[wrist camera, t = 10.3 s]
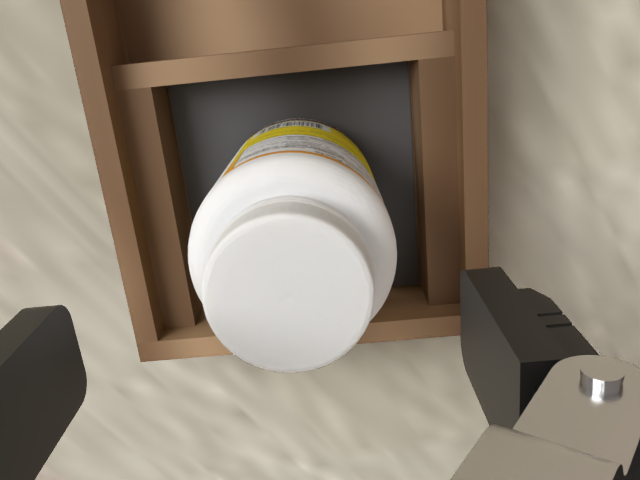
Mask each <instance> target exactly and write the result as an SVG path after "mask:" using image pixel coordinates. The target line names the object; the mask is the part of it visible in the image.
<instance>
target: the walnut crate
mask: <svg viewBox="0 0 640 480" xmlns="http://www.w3.org/2000/svg"><path fill="white" fill-rule="evenodd" d="M60 4H61V9H62V13H63V18H64V22H65V26H66V31H67V35H68V40H69V44H70V49H71V53H72V58H73V62H74V67H75V71H76V75H77V80H78V84H79V89H80V93H81V98H82V102H83V107H84V111H85V116H86V120H87V124H88V129H89V133H90V138H91V142H92V147H93V151H94V156H95V160H96V165H97V169H98V173H99V178H100V182H101V187H102V191H103V196H104V200H105V205H106V209H107V214H108V218H109V222H110V227H111V231H112V236H113V240H114V245H115V249H116V254H117V258H118V263H119V267H120V271H121V276H122V280H123V285H124V289H125V294H126V298H127V303H128V307H129V312H130V316H131V320H132V325H133V329H134V334H135V338H136V343H137V347H138V352H139V356H140V361H141V362H146V361H158V360H169V359H181V358H193V357H205V356H217V355H229V354H233V353H232V352H230V351H229V350H228V349H227V348H226V347H225V346H224V345H223V344H222V343H221V342H220V340H219V339H218V338H217V337H216V335H215V334H214V332H213V331H212V329H211V327H210V325H209V323H208V321H207V319H206V316H205V312H204V308H203V304H202V302H201V301H200V299H199V297H198V295H197V293H196V291H195V288H194V285H193V282H192V279H191V275H190V271H189V265H188V242H189V236H190V231H191V226H192V223H193V220H194V218H195V215H196V213H197V211H198V209H199V207H200V205H201V204H202V202H203V200H204V199H205V197H206V196H207V194H208V193H209V191H210V190H211V189H212V187H213V186H214V185H215V183H216V182H217V180H218V179H219V177H220V176H221V175H222V173H223V172H224V170H225V169H226V168H227V166H228V165H229V163H230V162H231V160H232V159H233V158H234V156H235V155H236V153H237V152H238V151H239V149H240V148H241V147H242V145H243V144H244V143H245V142H246V141H247V140H248V139H249V138H250V137H251V136H252V135H254V134H255V133H256V132H258V131H259V130H261V129H262V128H264V127H266V126H268V125H271V124H273V123H275V122H279V121H282V120H287V119H298V118H301V119H311V120H316V121H320V122H323V123H326V124H329V125H331V126H333V127H335V128H337V129H339V130H340V131H342V132H343V133H344V134H346V135H347V136H348V137H349V138H350V139H351V140H352V141H353V142H354V143H355V144H356V145H357V146H358V148H359V149H360V150H361V151H362V153H363V155H364V156H365V158H366V160H367V162H368V164H369V166H370V169H371V172H372V174H373V177H374V179H375V182H376V184H377V187H378V190H379V192H380V194H381V197H382V199H383V202H384V205H385V207H386V209H387V212H388V214H389V217H390V219H391V223H392V226H393V229H394V234H395V238H396V247H397V264H396V271H395V276H394V280H393V283H392V286H391V289H390V292H389V294H388V296H387V299H386V300H385V302H384V304H383V306H382V307H381V309H380V310H379V311H378V313H377V314H376V315H375V316H374V318H373V319H372V320H371V321H370V322H369V324H368V326H367V328H366V330H365V332H364V334H363V335H362V336H361V338H360V339H359V341H358V342H357V343H356V344H360V343H372V342H384V341H396V340H408V339H419V338H431V337H443V336H455V335H461V317H460V275H461V272H462V270H470V269H481V268H489V259H488V116H487V0H60Z"/></svg>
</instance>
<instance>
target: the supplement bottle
mask: <svg viewBox="0 0 640 480" xmlns="http://www.w3.org/2000/svg"><path fill="white" fill-rule="evenodd" d="M396 264H397V247H396V238H395V234H394V229H393V226H392V223H391V219H390V217H389V214H388V212H387V209H386V207H385V205H384V202H383V199H382V197H381V194H380V192H379V190H378V187H377V184H376V182H375V179H374V177H373V174H372V172H371V169H370V166H369V164H368V162H367V160H366V158H365V156H364V155H363V153H362V151H361V150H360V149H359V148H358V146H357V145H356V144H355V143H354V142H353V141H352V140H351V139H350V138H349V137H348V136H347V135H346V134H344V133H343V132H342V131H340V130H339V129H337V128H335V127H333V126H331V125H329V124H326V123H323V122H320V121H316V120H311V119H301V118H298V119H287V120H282V121H279V122H275V123H273V124H271V125H268V126H266V127H264V128H262V129H261V130H259V131H258V132H256V133H255V134H254V135H252V136H251V137H250V138H249V139H248V140H247V141H246V142H245V143H244V144H243V145H242V147H241V148H240V149H239V151H238V152H237V153H236V155H235V156H234V158H233V159H232V160H231V162H230V163H229V165H228V166H227V168H226V169H225V170H224V172H223V173H222V175H221V176H220V177H219V179H218V180H217V182H216V183H215V185H214V186H213V187H212V189H211V190H210V191H209V193H208V194H207V196H206V197H205V199H204V200H203V202H202V204H201V205H200V207H199V209H198V211H197V213H196V215H195V218H194V220H193V223H192V226H191V231H190V236H189V242H188V265H189V271H190V275H191V279H192V282H193V285H194V288H195V291H196V293H197V295H198V297H199V299H200V301H201V302H202V304H203V308H204V312H205V316H206V319H207V321H208V323H209V325H210V327H211V329H212V331H213V332H214V334H215V335H216V337H217V338H218V339H219V340H220V342H221V343H222V344H223V345H224V346H225V347H226V348H227V349H228V350H229V351H230V352H232V353H233V354H234V355H235V356H237V357H238V358H240V359H242V360H243V361H245V362H247V363H249V364H251V365H254V366H256V367H259V368H262V369H265V370H269V371H274V372H283V373H298V372H306V371H311V370H314V369H318V368H321V367H323V366H326V365H328V364H330V363H332V362H334V361H336V360H337V359H339V358H341V357H342V356H344V355H345V354H346V353H347V352H348V351H349V350H351V349H352V348H353V347H354V346H355V344H356V343H357V342H358V341H359V339H360V338H361V336H362V335H363V334H364V332H365V330H366V328H367V326H368V324H369V322H370V321H371V320H372V319H373V318H374V316H375V315H376V314H377V313H378V311H379V310H380V309H381V307H382V306H383V304H384V302H385V300H386V299H387V296H388V294H389V292H390V289H391V286H392V283H393V280H394V276H395V271H396Z"/></svg>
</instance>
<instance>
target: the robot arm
mask: <svg viewBox="0 0 640 480" xmlns="http://www.w3.org/2000/svg"><path fill="white" fill-rule="evenodd" d="M460 317H461V348H462V356H463V361H464V366H465V369H466V372H467V374H468V377H469V379H470V381H471V384H472V386H473V388H474V391H475V393H476V395H477V398H478V400H479V402H480V404H481V407H482V409H483V411H484V414H485V416H486V418H487V421H488V423H489V425H490V426H489V427H488V428H487V429H486V430H485V431H484V433H483V434H482V436H481V437H480V438H479V440H478V441H477V443H476V444H475V446H474V447H473V448H472V450H471V451H470V453H469V454H468V455H467V457H466V458H465V460H464V461H463V462H462V464H461V465H460V467H459V468H458V469H457V471H456V472H455V474H454V475H453V477H452V478H451V479H450V480H640V368H638V367H637V366H635V365H633V364H630V363H628V362H625V361H623V360H619V359H616V358H612V357H606V356H600V355H599V354H598V353H597V352H596V351H595V350H594V348H593V347H592V346H591V345H590V344H589V343H588V341H587V340H586V339H585V338H584V337H583V336H582V335H581V333H580V332H579V331H578V330H577V329H576V328H575V326H572V323H571V322H570V321H569V319H568V318H567V317H566V316H565V315H562V311H561V310H560V309H559V308H558V307H557V305H556V304H555V303H554V302H553V301H552V300H551V299H550V298H548V297H546V296H544V295H543V294H541V293H539V292H537V291H535V290H533V289H531V288H526V289H517V288H516V287H515V285H514V284H513V283H512V281H511V280H510V279H509V277H508V276H507V275H506V274H505V272H504V271H503V270H502V268H501V267H492V268H481V269H470V270H462V272H461V275H460ZM86 387H87V378H86V372H85V368H84V364H83V360H82V356H81V352H80V349H79V345H78V341H77V337H76V333H75V330H74V326H73V322H72V318H71V315H70V313H69V311H68V309H67V308H66V307H65V306H63V305H56V306H45V307H34V308H25V309H22V310H21V311H20V312H19V313H18V314H17V315H16V316H15V317H14V318H13V319H12V320H11V321H9V322H8V323H7V324H6V325H5V326H4V327H3V328H2V329H1V330H0V480H35V478H36V477H37V475H38V473H39V472H40V470H41V469H42V467H43V465H44V464H45V462H46V461H47V459H48V457H49V456H50V454H51V453H52V451H53V449H54V448H55V446H56V445H57V443H58V441H59V440H60V438H61V437H62V435H63V434H64V432H65V430H66V429H67V427H68V426H69V424H70V422H71V421H72V419H73V418H74V416H75V414H76V413H77V411H78V410H79V408H80V406H81V405H82V403H83V401H84V398H85V394H86Z"/></svg>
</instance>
